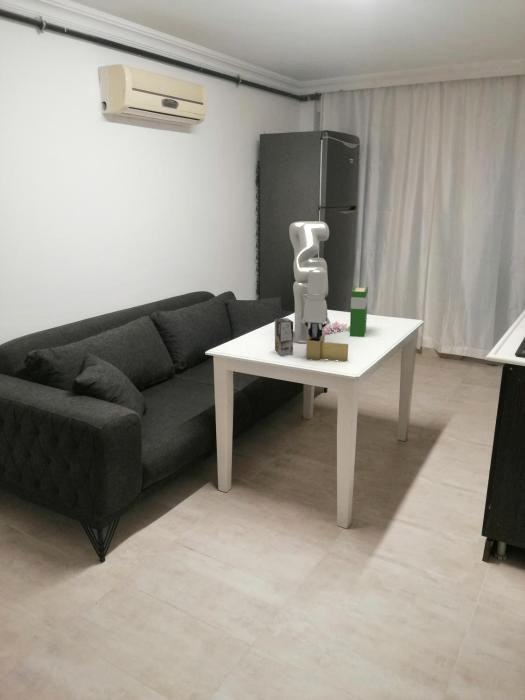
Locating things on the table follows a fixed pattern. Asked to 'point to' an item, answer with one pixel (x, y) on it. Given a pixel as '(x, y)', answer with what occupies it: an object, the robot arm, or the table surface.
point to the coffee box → (284, 336)
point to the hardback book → (358, 311)
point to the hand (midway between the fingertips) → (315, 336)
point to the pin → (315, 331)
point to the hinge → (326, 350)
